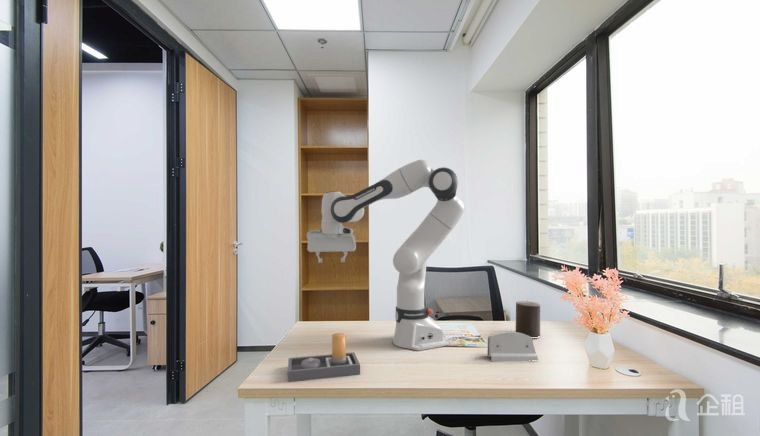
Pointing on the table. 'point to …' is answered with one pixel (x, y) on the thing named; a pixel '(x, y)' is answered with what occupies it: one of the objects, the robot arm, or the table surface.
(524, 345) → the hinge
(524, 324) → the pillar candle
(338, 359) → the wooden handle stamp
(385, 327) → the table surface
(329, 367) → the dark grey sorting tray
